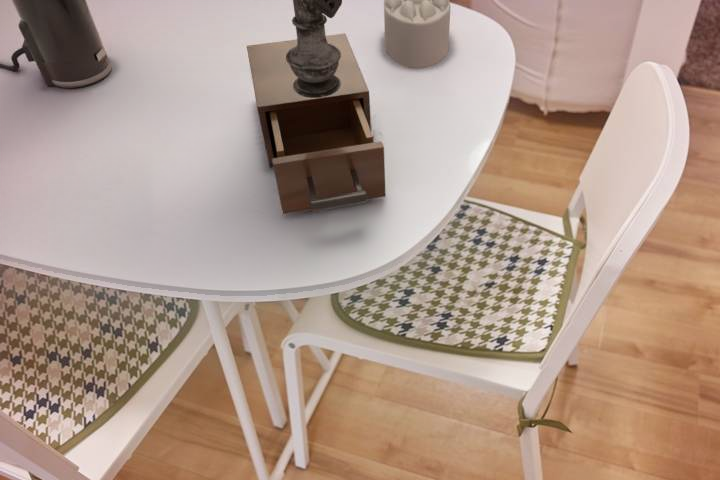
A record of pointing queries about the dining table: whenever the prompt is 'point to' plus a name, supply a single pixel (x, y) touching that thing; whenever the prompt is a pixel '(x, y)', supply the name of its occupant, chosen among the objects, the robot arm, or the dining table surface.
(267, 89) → the cabinet
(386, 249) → the dining table surface
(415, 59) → the lumpy-topped squat cylinder
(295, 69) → the grey stone knobbed piece
